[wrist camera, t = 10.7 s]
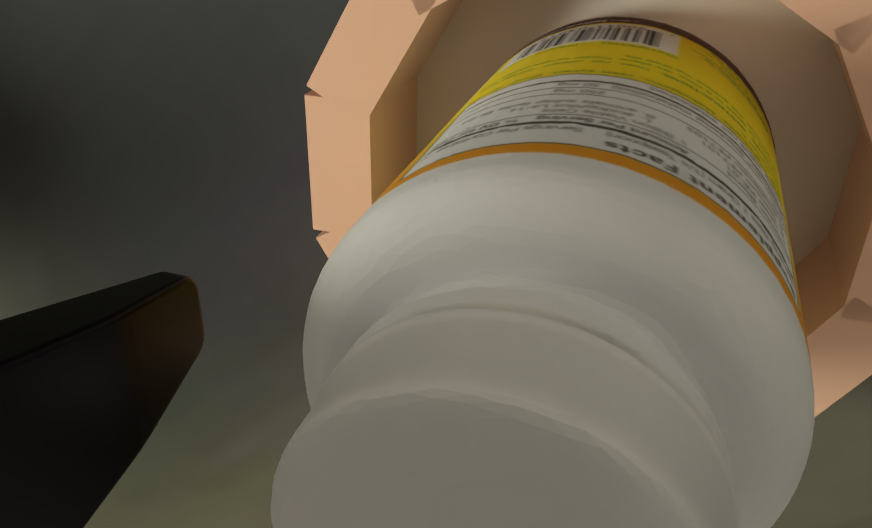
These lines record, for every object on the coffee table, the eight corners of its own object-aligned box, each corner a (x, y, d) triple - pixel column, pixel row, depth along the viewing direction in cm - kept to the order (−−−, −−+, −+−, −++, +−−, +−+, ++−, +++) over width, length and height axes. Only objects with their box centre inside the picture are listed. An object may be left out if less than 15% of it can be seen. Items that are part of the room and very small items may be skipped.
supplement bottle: (607, 331, 17) (485, 842, 8) (421, 146, 16) (85, 498, 8) (846, 169, 14) (1032, 711, 5) (629, -66, 13) (454, 130, 5)
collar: (855, 421, 17) (880, 543, 14) (361, 323, 20) (300, 408, 17) (1075, -192, 12) (1192, -196, 9) (343, -203, 15) (247, -209, 12)
